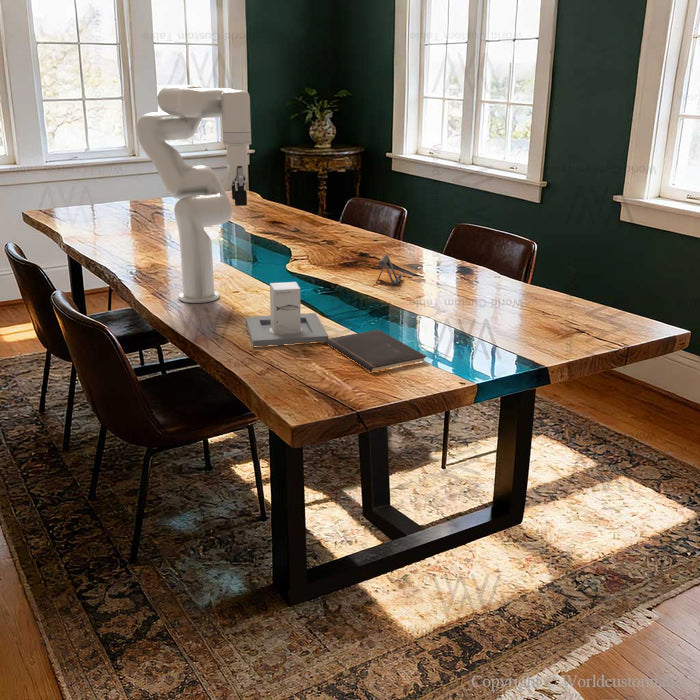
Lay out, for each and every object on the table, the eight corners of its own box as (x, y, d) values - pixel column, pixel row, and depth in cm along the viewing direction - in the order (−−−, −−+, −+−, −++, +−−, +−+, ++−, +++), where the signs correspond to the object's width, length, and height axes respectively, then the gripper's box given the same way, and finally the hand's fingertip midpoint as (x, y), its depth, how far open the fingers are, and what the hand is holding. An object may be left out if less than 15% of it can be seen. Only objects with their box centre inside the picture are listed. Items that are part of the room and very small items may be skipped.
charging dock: (245, 323, 225) (245, 317, 224) (315, 319, 229) (315, 313, 228) (253, 347, 206) (252, 340, 206) (328, 342, 210) (328, 335, 210)
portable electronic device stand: (397, 286, 262) (398, 262, 259) (374, 285, 264) (375, 260, 261) (401, 279, 270) (402, 255, 267) (378, 278, 272) (379, 254, 269)
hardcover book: (378, 337, 217) (378, 329, 216) (426, 364, 198) (426, 356, 197) (326, 347, 209) (326, 338, 209) (371, 376, 191) (371, 367, 190)
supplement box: (274, 335, 213) (273, 289, 209) (270, 326, 220) (269, 282, 215) (301, 333, 215) (300, 288, 210) (296, 324, 221) (296, 280, 217)
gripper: (220, 135, 220) (223, 197, 226) (225, 142, 204) (228, 208, 210) (248, 135, 221) (250, 196, 227) (254, 141, 205) (256, 207, 211)
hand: (239, 202), depth 219 cm, fingers open, 9 cm apart
